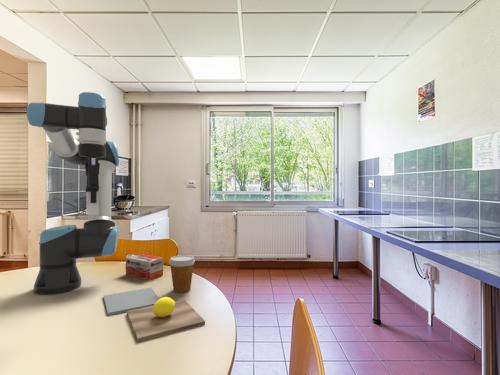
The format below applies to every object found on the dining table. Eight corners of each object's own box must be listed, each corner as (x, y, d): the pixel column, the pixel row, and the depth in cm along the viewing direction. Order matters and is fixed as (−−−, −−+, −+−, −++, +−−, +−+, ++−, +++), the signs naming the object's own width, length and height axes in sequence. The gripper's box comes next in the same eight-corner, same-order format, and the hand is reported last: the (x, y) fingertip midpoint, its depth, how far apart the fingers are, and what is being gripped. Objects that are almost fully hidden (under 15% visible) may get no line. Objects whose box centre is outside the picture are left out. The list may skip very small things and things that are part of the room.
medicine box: (125, 275, 126) (125, 256, 126) (140, 270, 133) (140, 253, 133) (149, 280, 119) (149, 261, 119) (164, 275, 126) (164, 257, 126)
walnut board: (126, 314, 87) (126, 311, 87) (184, 302, 96) (184, 299, 96) (137, 342, 72) (137, 338, 72) (205, 324, 81) (205, 321, 81)
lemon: (158, 324, 80) (156, 306, 80) (150, 317, 84) (147, 300, 83) (180, 313, 85) (178, 296, 84) (171, 307, 89) (169, 291, 88)
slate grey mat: (103, 297, 100) (103, 295, 100) (151, 289, 108) (151, 287, 108) (107, 315, 86) (107, 313, 86) (161, 304, 95) (161, 302, 95)
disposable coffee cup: (171, 285, 113) (171, 255, 113) (196, 284, 113) (196, 254, 113) (166, 294, 103) (166, 261, 103) (193, 294, 104) (193, 260, 104)
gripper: (78, 147, 98) (77, 210, 98) (78, 137, 76) (78, 216, 77) (102, 149, 102) (102, 209, 102) (109, 139, 80) (109, 215, 80)
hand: (92, 212), depth 89 cm, fingers open, 13 cm apart
